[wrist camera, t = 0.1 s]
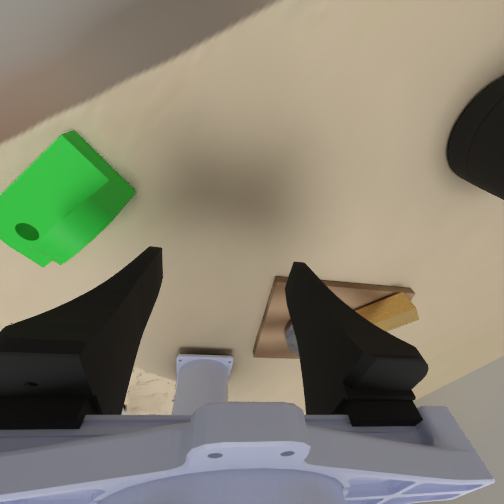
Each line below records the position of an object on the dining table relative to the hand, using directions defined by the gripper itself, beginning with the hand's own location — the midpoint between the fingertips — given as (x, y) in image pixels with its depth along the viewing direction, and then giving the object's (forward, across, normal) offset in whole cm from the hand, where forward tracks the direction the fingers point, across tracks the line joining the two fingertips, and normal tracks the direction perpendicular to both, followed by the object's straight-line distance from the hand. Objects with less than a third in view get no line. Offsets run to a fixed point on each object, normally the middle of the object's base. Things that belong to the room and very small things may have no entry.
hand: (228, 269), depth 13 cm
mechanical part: (+12, +15, +3) cm, 19 cm away
